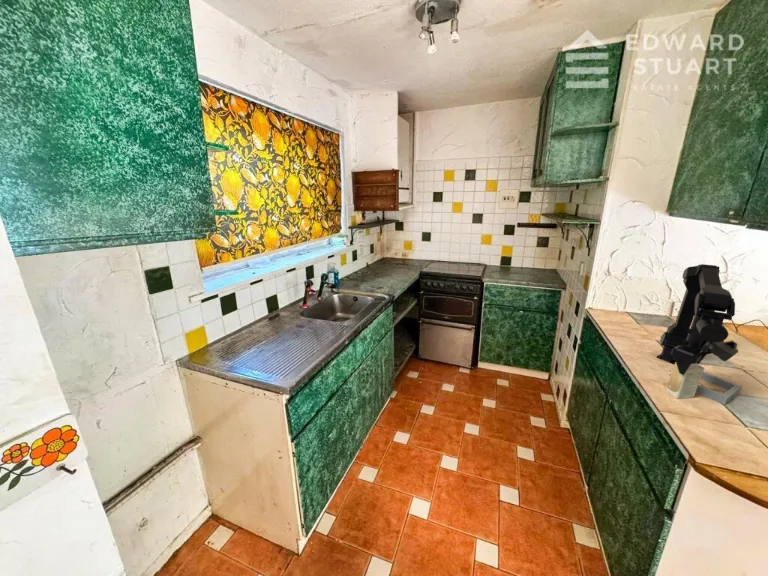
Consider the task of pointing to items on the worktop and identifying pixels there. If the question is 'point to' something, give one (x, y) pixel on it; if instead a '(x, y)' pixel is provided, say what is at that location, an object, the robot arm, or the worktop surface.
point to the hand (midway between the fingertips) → (687, 370)
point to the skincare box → (685, 381)
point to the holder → (731, 387)
